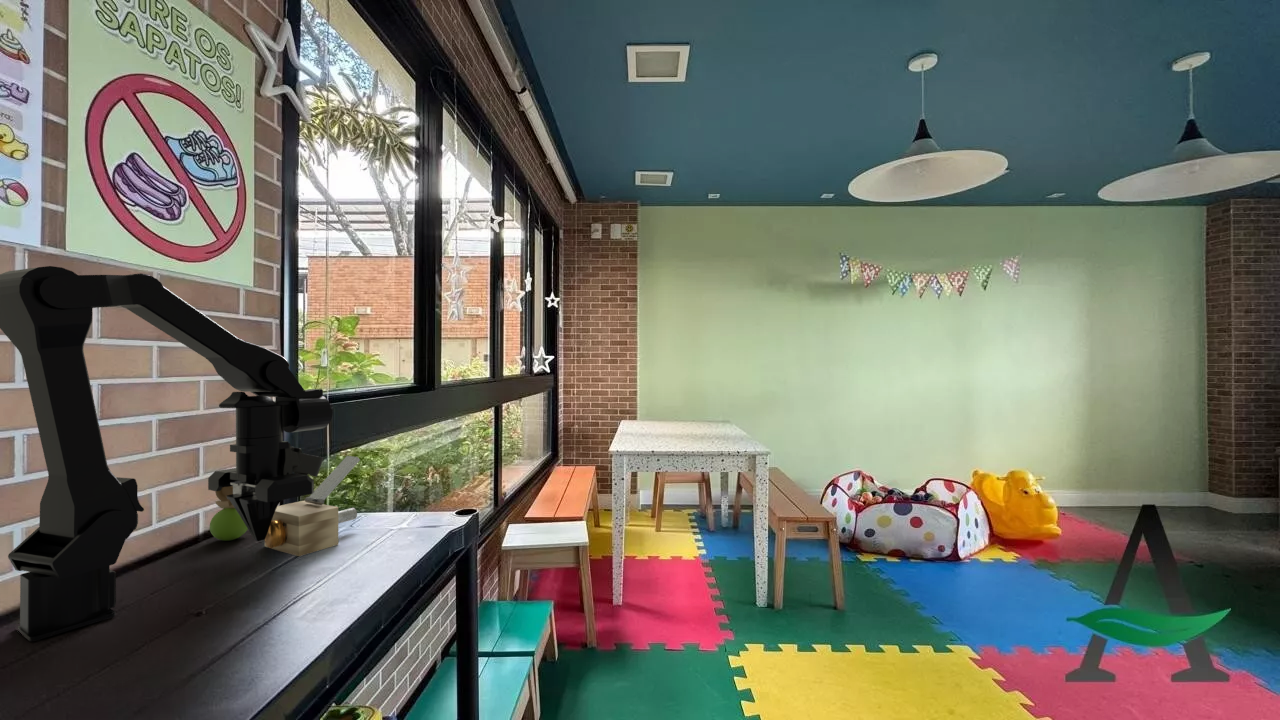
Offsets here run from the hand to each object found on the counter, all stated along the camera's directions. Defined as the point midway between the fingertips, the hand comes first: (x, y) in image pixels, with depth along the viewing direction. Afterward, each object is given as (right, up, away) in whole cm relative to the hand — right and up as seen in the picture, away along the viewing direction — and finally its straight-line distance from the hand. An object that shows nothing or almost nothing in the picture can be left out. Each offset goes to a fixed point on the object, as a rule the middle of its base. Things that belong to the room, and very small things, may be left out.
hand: (260, 540), depth 79 cm
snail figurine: (-11, -3, +9) cm, 14 cm away
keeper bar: (+6, +6, +10) cm, 13 cm away
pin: (+4, -2, +7) cm, 8 cm away
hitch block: (+3, -3, +5) cm, 6 cm away
